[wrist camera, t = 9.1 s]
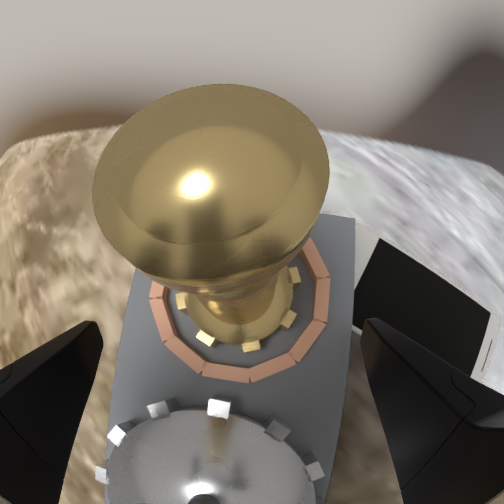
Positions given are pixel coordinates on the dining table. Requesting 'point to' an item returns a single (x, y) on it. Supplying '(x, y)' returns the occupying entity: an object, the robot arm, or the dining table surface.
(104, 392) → the dining table surface
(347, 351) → the gear board
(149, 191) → the gold piece
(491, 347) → the smartphone
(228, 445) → the gear
